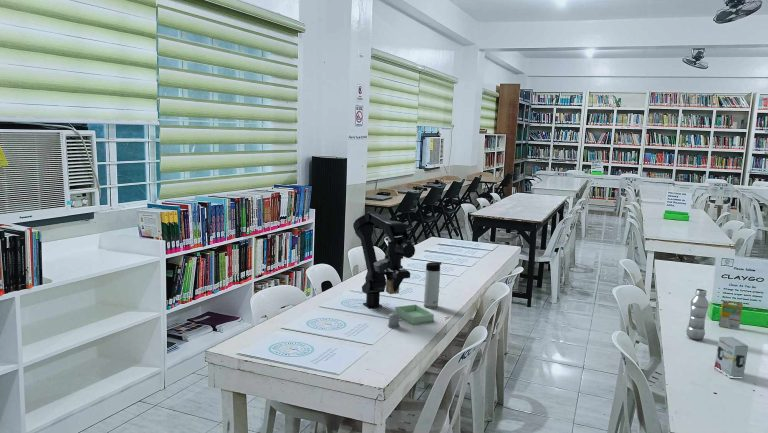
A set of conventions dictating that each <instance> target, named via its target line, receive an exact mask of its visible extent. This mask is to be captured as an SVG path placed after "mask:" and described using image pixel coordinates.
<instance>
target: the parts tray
mask: <svg viewBox="0 0 768 433" xmlns="http://www.w3.org/2000/svg"><path fill="white" fill-rule="evenodd" d="M394 308H395V309H394V310H395V312H394V313H398V314H399V316H400V317H399V318H401V317H402V319H403V320H404V321H405V322H408V323H409V324H411V325H418V324H419V325H420V324H425V323H426V324H427V323H431V322H434V317H435V314H434V313H432V312H431V311H429V310H427V309H425V308H424V307H422V306H419V305H418V304H408V305H401V306H400V305H399V306H395V307H394Z"/></svg>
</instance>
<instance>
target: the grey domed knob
mask: <svg viewBox="0 0 768 433" xmlns="http://www.w3.org/2000/svg"><path fill="white" fill-rule="evenodd" d="M400 326H401V325H400V317H399V314H398V313H395V312H390V313H389V315H388V324H387V327H388V329H399V328H400Z"/></svg>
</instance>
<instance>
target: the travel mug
mask: <svg viewBox="0 0 768 433" xmlns="http://www.w3.org/2000/svg"><path fill="white" fill-rule="evenodd" d="M425 265H426V266H425V267H426V268H425V277H424V278H425V279H424V294H423V295H424V296H423V306H424V307H425V308H426V309H433V310H434V309H437V308H439V298H440V297H439V296H440V295H439V293H440V276H441V265H442V262H441V261H440V262H439V261H431V262H428V263H426V264H425ZM424 307H423V308H424Z"/></svg>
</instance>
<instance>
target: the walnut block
mask: <svg viewBox="0 0 768 433" xmlns="http://www.w3.org/2000/svg"><path fill="white" fill-rule="evenodd" d="M385 292H386V293H387V294H389V295H394V294H395V295H396V294H397V295H398V294H400V286H399V287H398V289H397V291H396V292H394V290H393V279H390V280H387V279H386V287H385Z"/></svg>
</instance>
